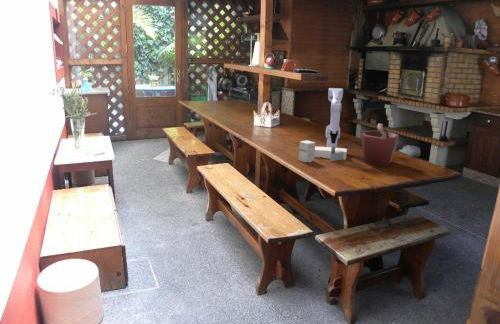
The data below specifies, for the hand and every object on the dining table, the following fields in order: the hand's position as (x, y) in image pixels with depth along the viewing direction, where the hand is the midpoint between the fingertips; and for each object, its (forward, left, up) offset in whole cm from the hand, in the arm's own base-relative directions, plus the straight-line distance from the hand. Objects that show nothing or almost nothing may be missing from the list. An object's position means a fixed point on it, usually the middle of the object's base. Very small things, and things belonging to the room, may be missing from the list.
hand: (333, 142), depth 271 cm
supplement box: (+14, -16, -11) cm, 24 cm away
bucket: (+4, +28, -11) cm, 30 cm away
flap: (+8, +3, -10) cm, 13 cm away
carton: (-2, -3, -10) cm, 11 cm away
